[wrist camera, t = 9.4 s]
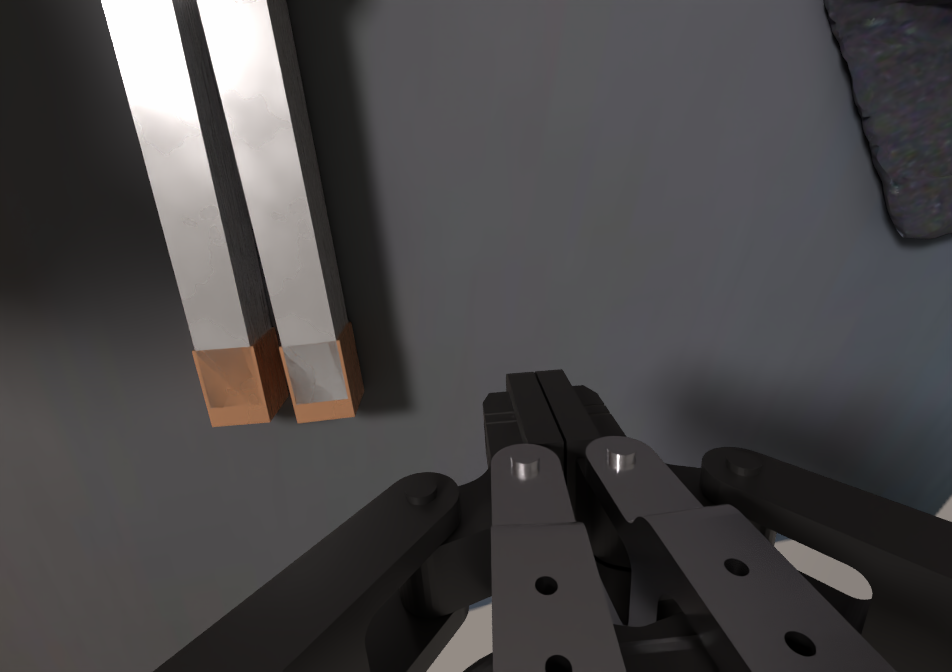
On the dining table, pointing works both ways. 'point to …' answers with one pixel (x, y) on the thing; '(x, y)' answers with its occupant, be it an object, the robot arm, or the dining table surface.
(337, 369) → the tong arm
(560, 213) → the dining table surface
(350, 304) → the dining table surface
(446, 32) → the dining table surface
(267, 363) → the base
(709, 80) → the dining table surface
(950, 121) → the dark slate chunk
